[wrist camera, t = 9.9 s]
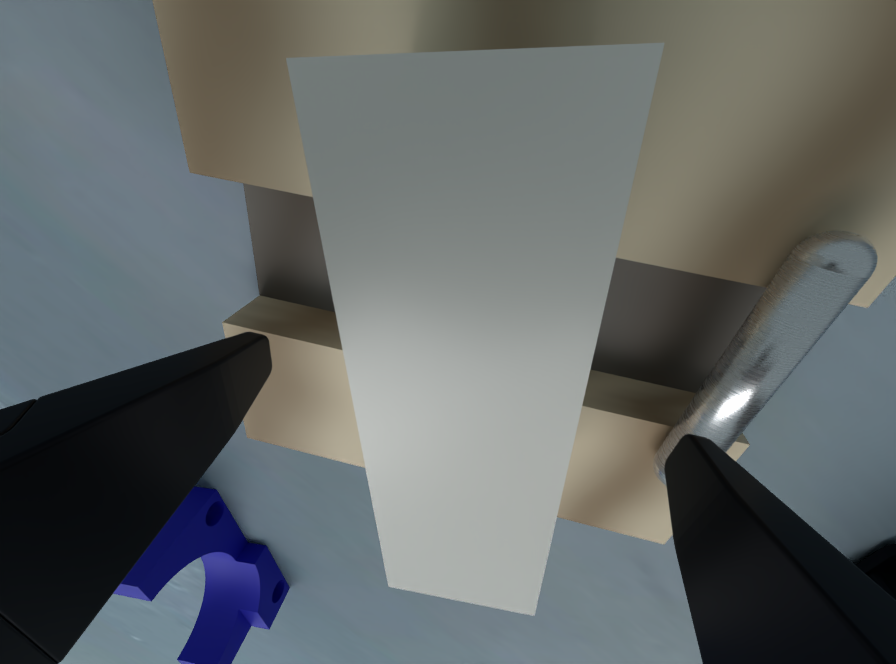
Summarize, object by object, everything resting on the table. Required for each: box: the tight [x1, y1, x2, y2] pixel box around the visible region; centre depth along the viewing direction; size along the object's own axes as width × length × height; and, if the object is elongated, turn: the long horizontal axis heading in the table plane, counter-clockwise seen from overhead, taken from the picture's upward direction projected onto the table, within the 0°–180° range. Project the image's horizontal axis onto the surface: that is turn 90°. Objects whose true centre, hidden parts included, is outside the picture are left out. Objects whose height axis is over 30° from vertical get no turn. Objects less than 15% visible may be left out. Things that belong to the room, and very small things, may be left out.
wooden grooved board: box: [153, 0, 896, 544], centre depth 12 cm, size 18×17×4 cm
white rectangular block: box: [286, 43, 664, 616], centre depth 9 cm, size 4×12×5 cm, turn 1°
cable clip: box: [113, 487, 290, 664], centre depth 25 cm, size 12×4×6 cm, turn 4°
